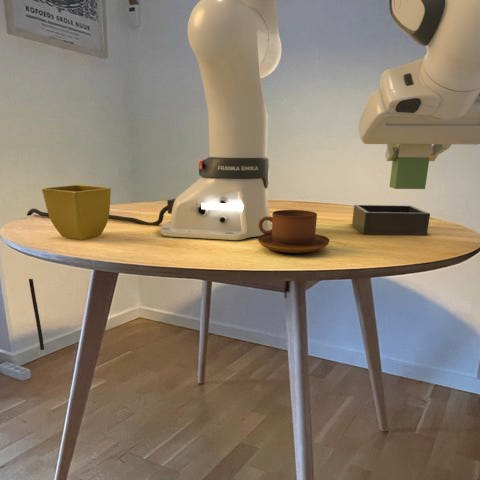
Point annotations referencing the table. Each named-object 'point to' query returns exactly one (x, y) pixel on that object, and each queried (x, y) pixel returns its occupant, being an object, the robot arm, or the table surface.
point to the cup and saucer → (292, 232)
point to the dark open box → (390, 220)
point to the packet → (410, 166)
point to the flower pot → (78, 209)
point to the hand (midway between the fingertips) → (408, 158)
